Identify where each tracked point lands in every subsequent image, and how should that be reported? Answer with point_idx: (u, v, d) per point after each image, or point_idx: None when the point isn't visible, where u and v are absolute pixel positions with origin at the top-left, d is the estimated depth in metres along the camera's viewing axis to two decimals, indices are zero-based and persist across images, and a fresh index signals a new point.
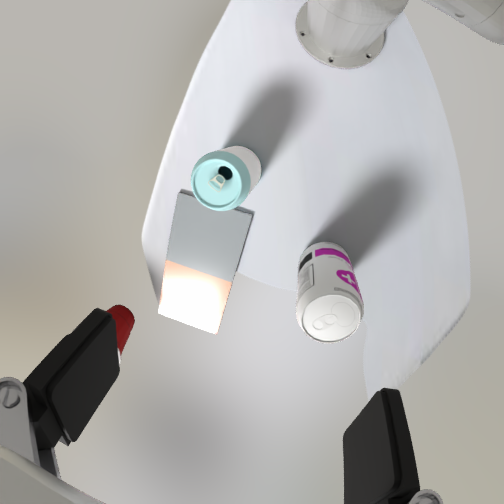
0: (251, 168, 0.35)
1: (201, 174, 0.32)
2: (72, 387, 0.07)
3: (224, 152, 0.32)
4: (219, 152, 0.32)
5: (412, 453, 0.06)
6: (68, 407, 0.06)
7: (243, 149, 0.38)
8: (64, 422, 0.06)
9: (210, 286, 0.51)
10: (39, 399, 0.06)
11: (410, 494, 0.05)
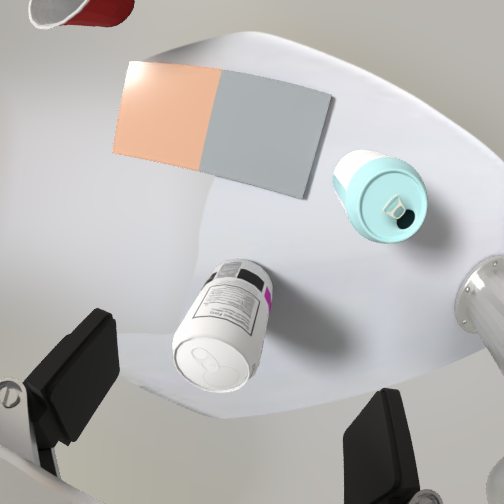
0: None
1: (407, 184, 0.20)
2: (72, 387, 0.07)
3: None
4: None
5: (412, 453, 0.06)
6: (68, 407, 0.06)
7: None
8: (64, 422, 0.06)
9: (186, 139, 0.32)
10: (39, 399, 0.06)
11: (410, 494, 0.05)
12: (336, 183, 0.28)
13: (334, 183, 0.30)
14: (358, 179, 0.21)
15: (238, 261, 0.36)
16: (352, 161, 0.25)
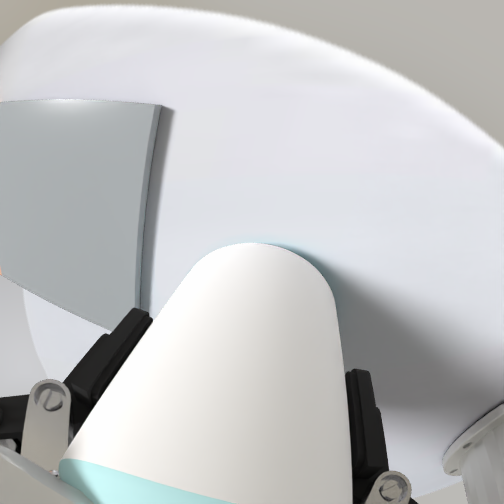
0: None
1: None
2: None
3: None
4: None
5: (378, 432, 0.07)
6: None
7: None
8: None
9: None
10: (82, 400, 0.06)
11: (378, 476, 0.06)
12: None
13: None
14: None
15: None
16: (139, 343, 0.08)
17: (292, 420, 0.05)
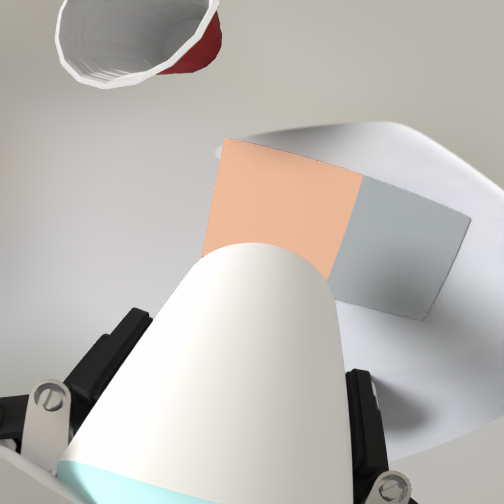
0: None
1: None
2: None
3: None
4: None
5: (378, 432, 0.07)
6: None
7: None
8: None
9: (310, 260, 0.27)
10: (83, 400, 0.06)
11: (378, 475, 0.06)
12: None
13: None
14: None
15: None
16: (138, 344, 0.08)
17: (292, 422, 0.05)
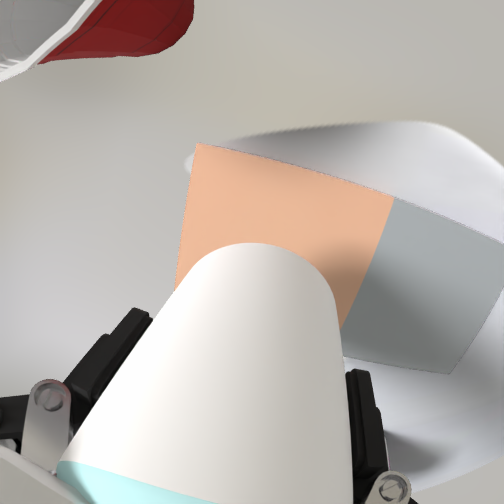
0: None
1: None
2: None
3: None
4: None
5: (378, 432, 0.07)
6: None
7: None
8: None
9: None
10: (83, 400, 0.06)
11: (378, 476, 0.06)
12: None
13: None
14: None
15: None
16: (137, 344, 0.08)
17: (292, 422, 0.05)
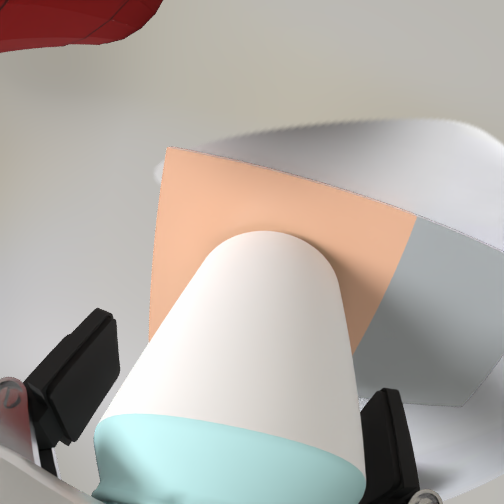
0: None
1: None
2: (73, 387, 0.07)
3: None
4: None
5: (412, 453, 0.06)
6: (69, 407, 0.06)
7: None
8: (64, 422, 0.06)
9: None
10: (40, 399, 0.06)
11: (410, 494, 0.05)
12: None
13: None
14: (97, 456, 0.05)
15: None
16: (169, 316, 0.09)
17: (313, 372, 0.06)
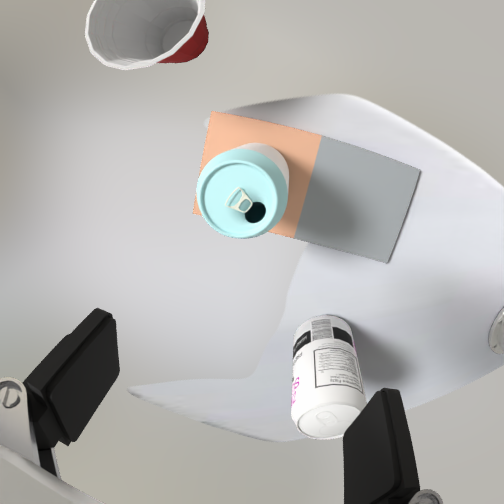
0: None
1: (252, 175, 0.20)
2: (72, 387, 0.07)
3: (285, 203, 0.22)
4: (285, 196, 0.22)
5: (412, 453, 0.06)
6: (68, 407, 0.06)
7: None
8: (64, 422, 0.06)
9: None
10: (39, 399, 0.06)
11: (410, 494, 0.05)
12: None
13: None
14: (203, 175, 0.22)
15: (326, 318, 0.37)
16: None
17: (267, 154, 0.23)
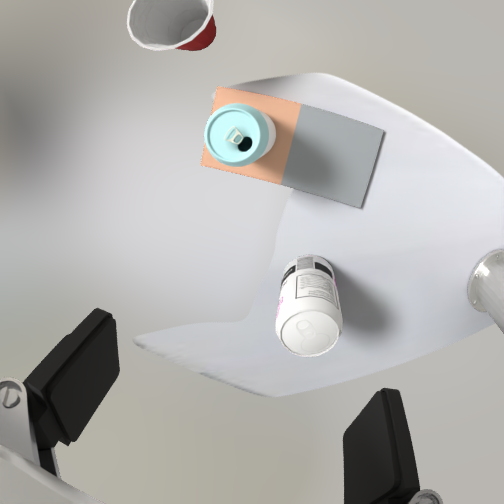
0: None
1: (243, 118, 0.28)
2: (72, 387, 0.07)
3: (267, 139, 0.30)
4: (267, 134, 0.30)
5: (412, 453, 0.06)
6: (68, 407, 0.06)
7: (272, 144, 0.37)
8: (64, 422, 0.06)
9: (271, 158, 0.41)
10: (39, 399, 0.06)
11: (410, 494, 0.05)
12: None
13: None
14: (209, 120, 0.30)
15: (310, 256, 0.45)
16: None
17: None
